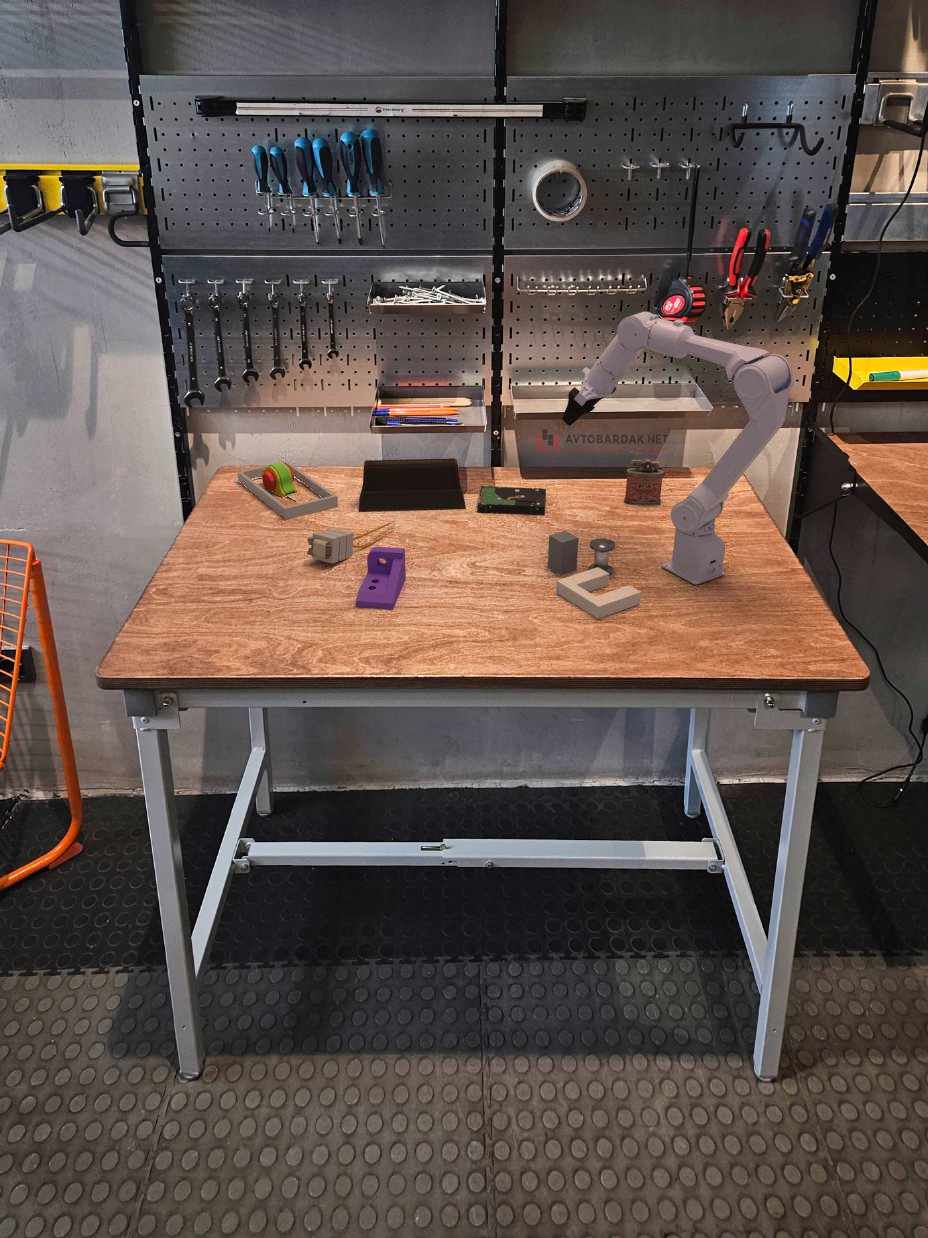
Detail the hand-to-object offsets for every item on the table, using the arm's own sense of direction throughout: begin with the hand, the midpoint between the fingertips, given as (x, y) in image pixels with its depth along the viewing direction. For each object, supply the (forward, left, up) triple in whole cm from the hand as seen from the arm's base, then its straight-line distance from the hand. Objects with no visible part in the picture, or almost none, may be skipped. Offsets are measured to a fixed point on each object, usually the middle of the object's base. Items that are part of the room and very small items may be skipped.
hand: (574, 414), depth 201 cm
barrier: (+30, +20, -25) cm, 44 cm away
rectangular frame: (+50, +41, -25) cm, 70 cm away
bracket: (-3, +47, -26) cm, 53 cm away
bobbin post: (-19, +7, -25) cm, 32 cm away
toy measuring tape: (+50, +41, -25) cm, 69 cm away
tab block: (-14, +12, -25) cm, 31 cm away
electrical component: (+18, +41, -25) cm, 51 cm away
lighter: (+2, -23, -25) cm, 34 cm away
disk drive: (+17, +2, -26) cm, 31 cm away
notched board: (-27, +14, -25) cm, 39 cm away
